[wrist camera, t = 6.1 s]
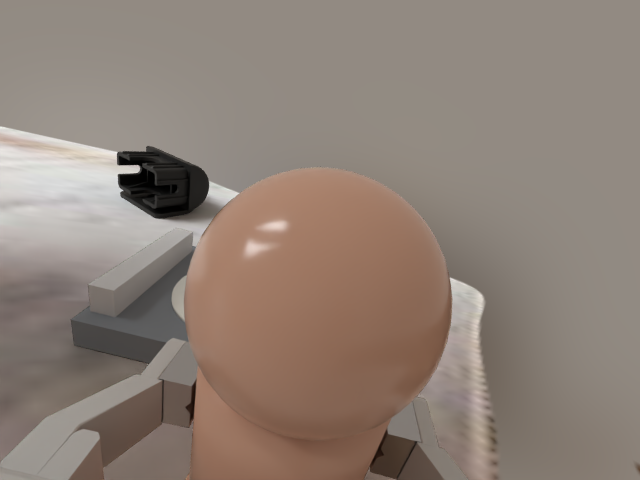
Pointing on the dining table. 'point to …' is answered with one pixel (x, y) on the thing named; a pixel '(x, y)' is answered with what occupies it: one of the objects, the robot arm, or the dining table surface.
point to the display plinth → (139, 301)
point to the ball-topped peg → (310, 326)
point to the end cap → (162, 183)
